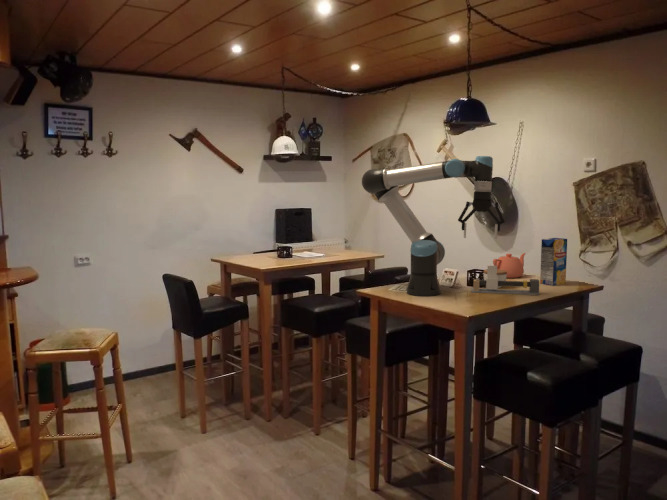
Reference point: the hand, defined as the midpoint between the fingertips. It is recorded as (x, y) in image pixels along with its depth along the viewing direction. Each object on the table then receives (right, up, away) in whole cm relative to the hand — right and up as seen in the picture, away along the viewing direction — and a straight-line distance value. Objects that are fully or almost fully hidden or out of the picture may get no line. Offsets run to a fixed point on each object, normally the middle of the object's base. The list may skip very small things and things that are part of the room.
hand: (480, 238), depth 240 cm
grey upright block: (+6, -23, +1) cm, 23 cm away
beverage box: (+41, -22, +20) cm, 51 cm away
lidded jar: (+11, -23, +13) cm, 29 cm away
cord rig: (+11, -24, 0) cm, 27 cm away
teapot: (+27, -20, +42) cm, 53 cm away
